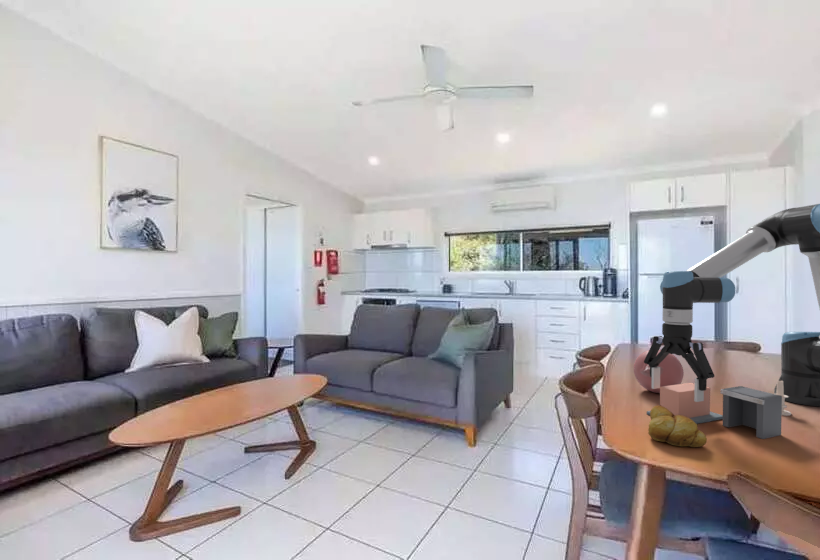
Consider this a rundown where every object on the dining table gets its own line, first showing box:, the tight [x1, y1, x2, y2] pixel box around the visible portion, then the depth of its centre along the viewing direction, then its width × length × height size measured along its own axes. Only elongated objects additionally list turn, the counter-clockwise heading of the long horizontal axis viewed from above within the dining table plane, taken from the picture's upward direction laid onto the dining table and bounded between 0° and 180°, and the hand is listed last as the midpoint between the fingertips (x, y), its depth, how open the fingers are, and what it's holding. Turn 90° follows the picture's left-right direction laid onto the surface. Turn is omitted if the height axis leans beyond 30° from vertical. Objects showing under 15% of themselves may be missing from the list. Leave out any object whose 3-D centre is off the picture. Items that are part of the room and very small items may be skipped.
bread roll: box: [647, 404, 707, 448], centre depth 107 cm, size 13×10×8 cm
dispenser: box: [719, 385, 783, 440], centre depth 114 cm, size 8×10×10 cm
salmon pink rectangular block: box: [659, 382, 711, 418], centre depth 125 cm, size 13×6×8 cm, turn 110°
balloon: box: [633, 349, 685, 394], centre depth 148 cm, size 15×20×15 cm
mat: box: [646, 410, 723, 425], centre depth 125 cm, size 18×11×1 cm, turn 110°
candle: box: [776, 380, 792, 417], centre depth 128 cm, size 5×5×10 cm
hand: (676, 394), depth 124 cm, fingers open, 13 cm apart
